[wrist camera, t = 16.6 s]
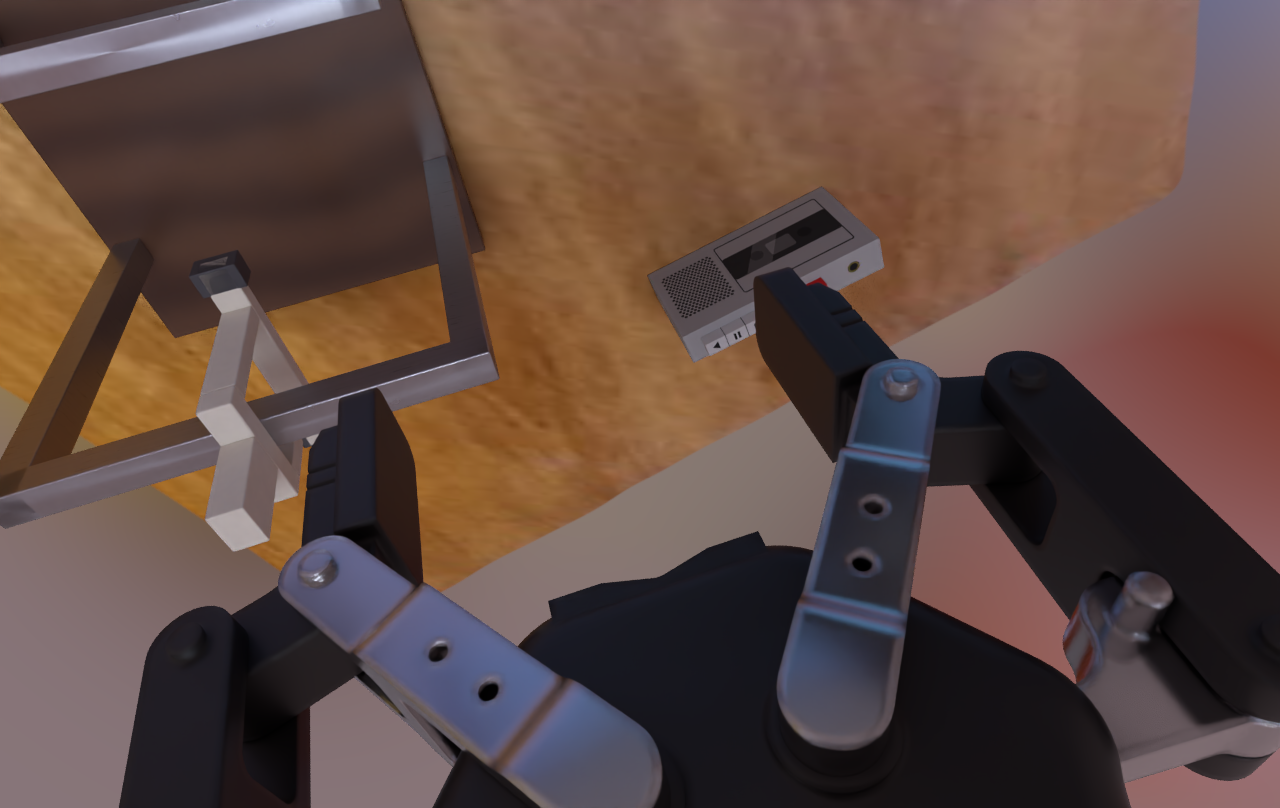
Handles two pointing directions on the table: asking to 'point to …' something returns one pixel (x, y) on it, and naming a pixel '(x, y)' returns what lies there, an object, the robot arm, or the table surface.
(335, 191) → the rack
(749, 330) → the cassette player
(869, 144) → the table surface
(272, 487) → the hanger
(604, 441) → the table surface
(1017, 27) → the table surface
